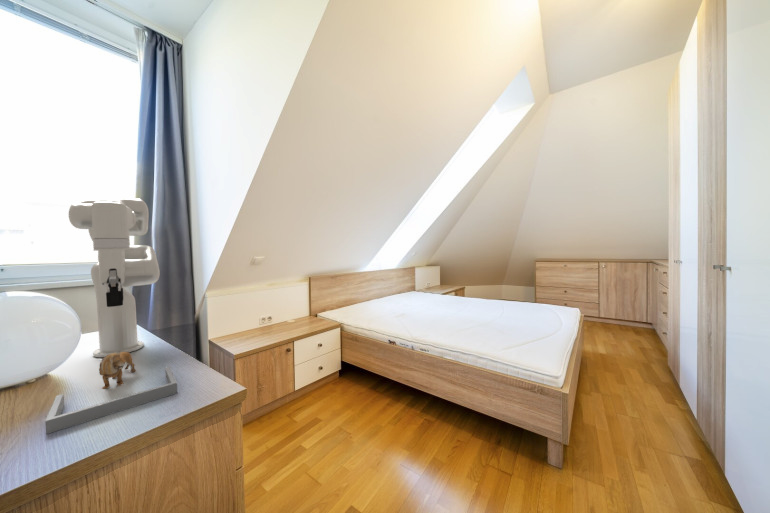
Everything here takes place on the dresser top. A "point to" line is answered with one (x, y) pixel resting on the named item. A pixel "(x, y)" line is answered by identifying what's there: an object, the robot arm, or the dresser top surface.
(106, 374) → the lion figurine
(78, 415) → the box
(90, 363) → the dresser top surface
